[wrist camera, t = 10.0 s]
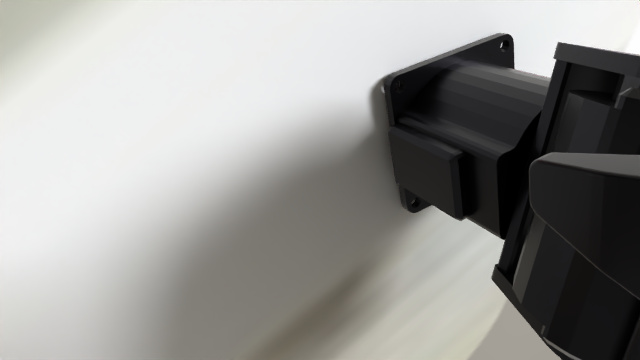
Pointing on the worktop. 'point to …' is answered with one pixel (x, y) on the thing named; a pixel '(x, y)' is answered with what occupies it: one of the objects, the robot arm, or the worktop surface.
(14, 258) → the worktop surface
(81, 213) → the worktop surface
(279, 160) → the worktop surface
